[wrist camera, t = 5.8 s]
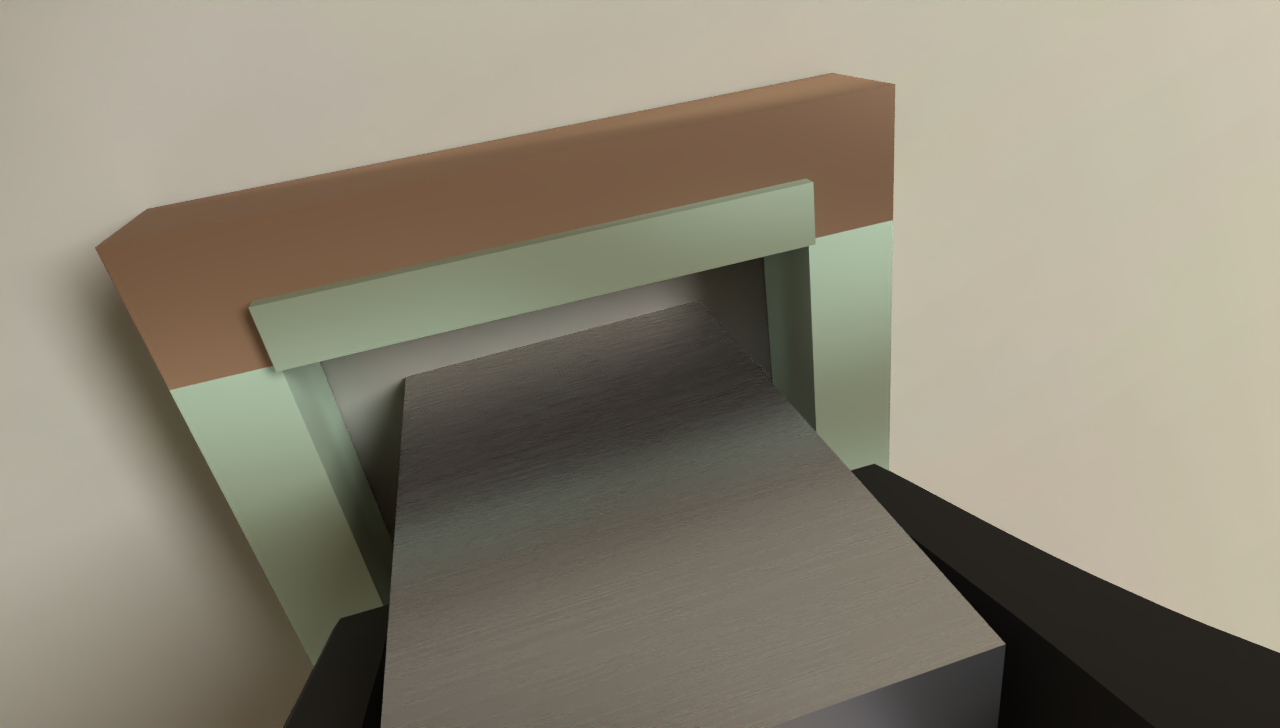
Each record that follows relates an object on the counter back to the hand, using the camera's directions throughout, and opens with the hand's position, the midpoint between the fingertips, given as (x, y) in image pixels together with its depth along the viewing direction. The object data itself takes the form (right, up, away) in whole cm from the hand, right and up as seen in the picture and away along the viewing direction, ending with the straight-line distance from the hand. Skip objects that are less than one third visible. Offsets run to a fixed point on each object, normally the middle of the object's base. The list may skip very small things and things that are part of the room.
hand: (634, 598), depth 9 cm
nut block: (-1, +1, +3) cm, 4 cm away
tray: (0, -3, +5) cm, 6 cm away
